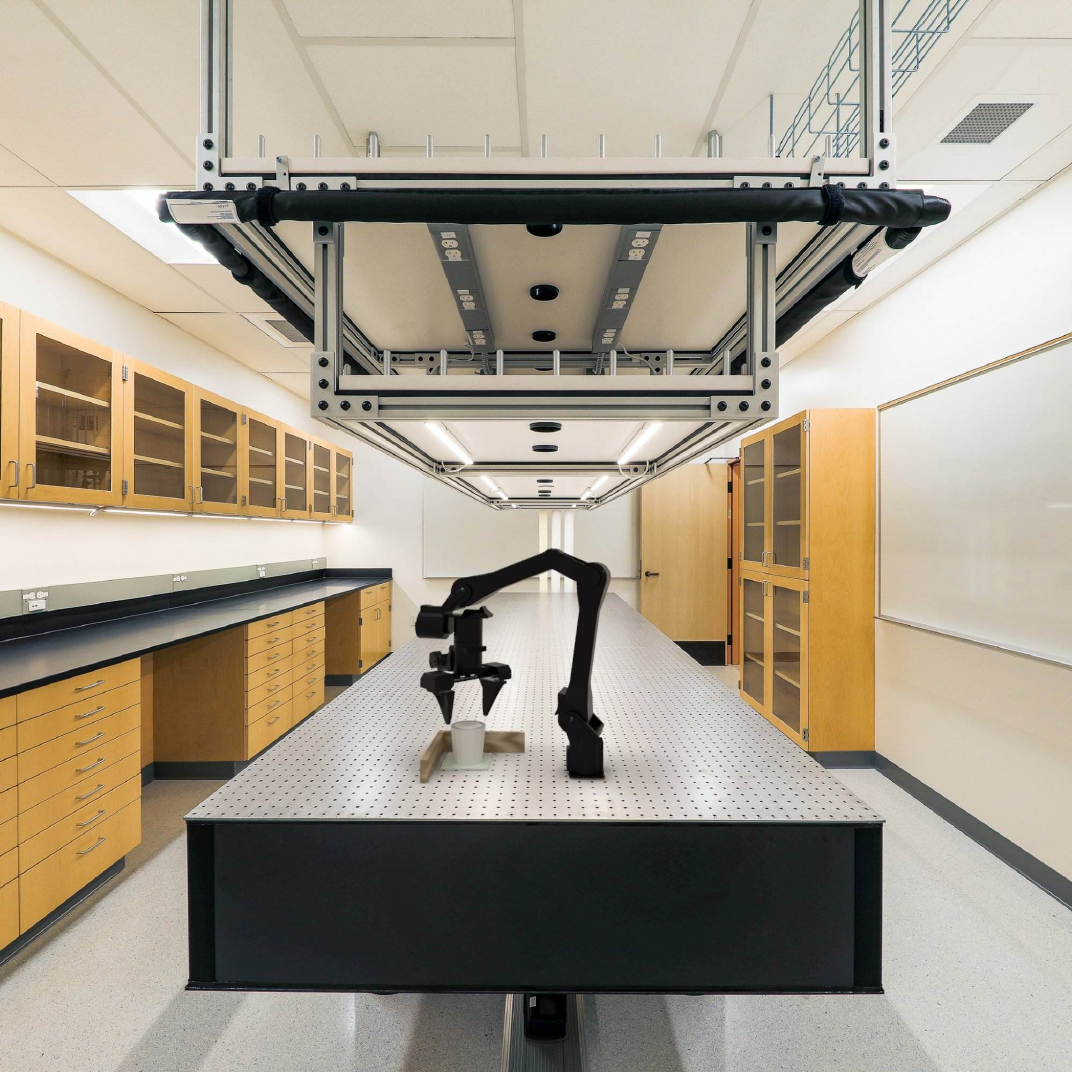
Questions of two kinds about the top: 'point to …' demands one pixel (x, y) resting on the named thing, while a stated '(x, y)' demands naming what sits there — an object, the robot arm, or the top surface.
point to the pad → (450, 765)
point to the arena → (492, 743)
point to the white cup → (468, 742)
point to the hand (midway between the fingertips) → (467, 719)
